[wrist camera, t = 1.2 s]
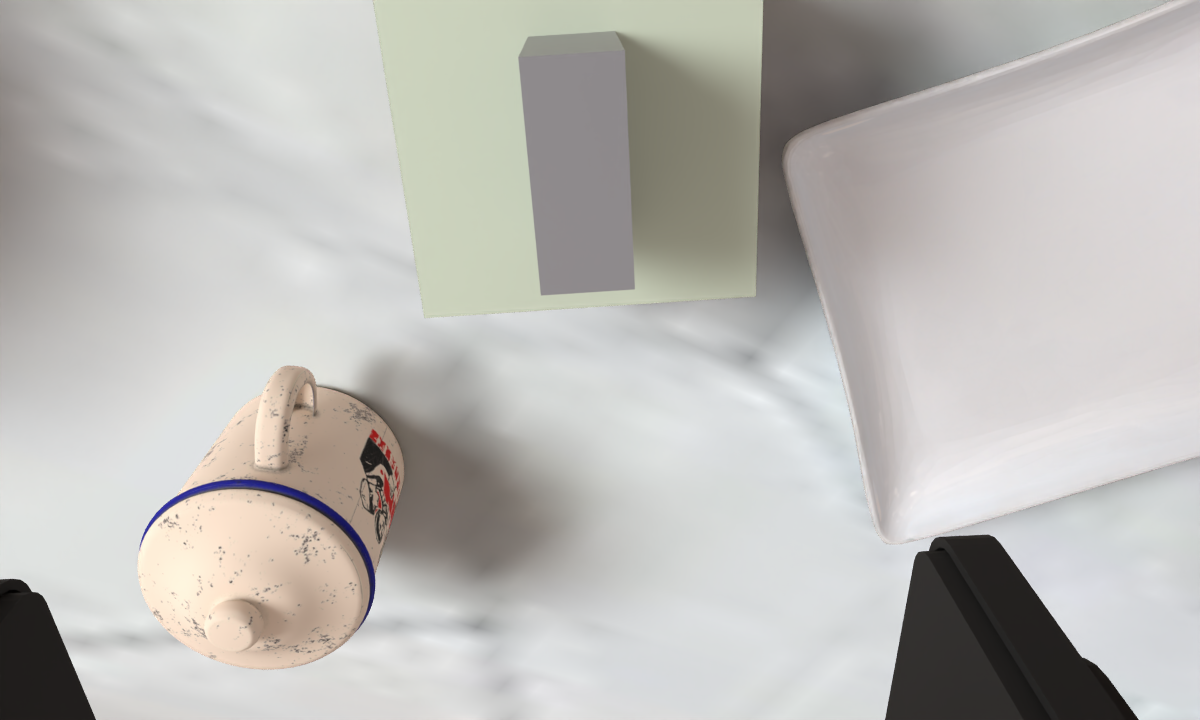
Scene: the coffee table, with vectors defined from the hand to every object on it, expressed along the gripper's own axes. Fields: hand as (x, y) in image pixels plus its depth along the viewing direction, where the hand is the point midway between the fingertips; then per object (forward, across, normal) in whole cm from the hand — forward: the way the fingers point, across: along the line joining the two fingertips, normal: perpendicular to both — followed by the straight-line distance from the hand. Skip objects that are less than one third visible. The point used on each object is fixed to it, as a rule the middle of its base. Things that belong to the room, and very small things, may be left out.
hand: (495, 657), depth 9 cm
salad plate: (+28, -22, +7) cm, 37 cm away
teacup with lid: (+28, +12, +14) cm, 34 cm away
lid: (+20, -1, -2) cm, 20 cm away
